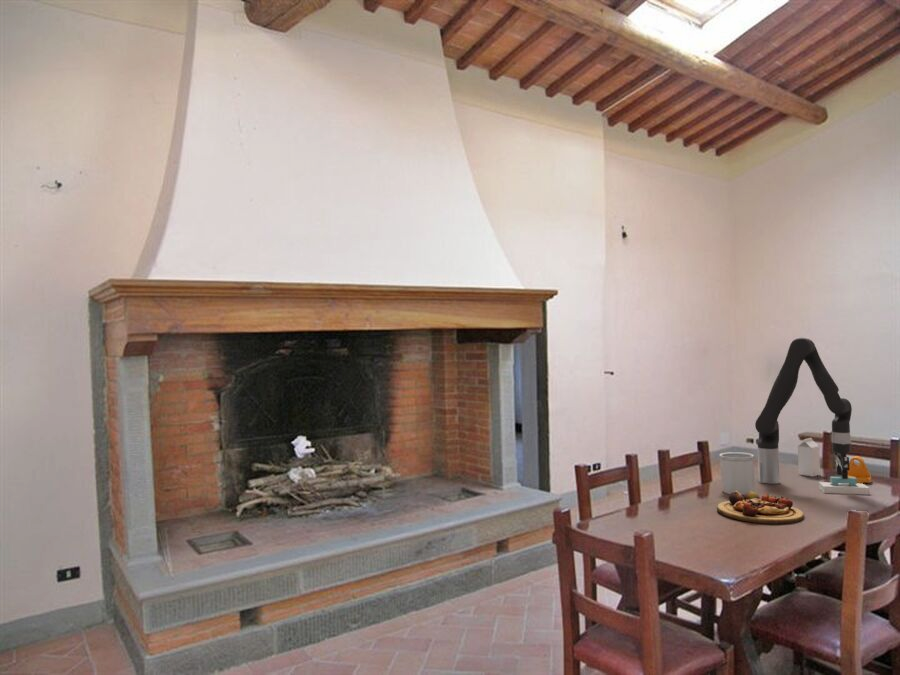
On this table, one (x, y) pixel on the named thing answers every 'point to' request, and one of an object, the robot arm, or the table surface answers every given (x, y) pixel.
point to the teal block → (843, 481)
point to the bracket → (859, 470)
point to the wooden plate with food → (760, 509)
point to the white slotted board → (844, 488)
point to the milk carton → (808, 458)
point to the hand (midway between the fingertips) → (842, 476)
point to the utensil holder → (737, 472)
